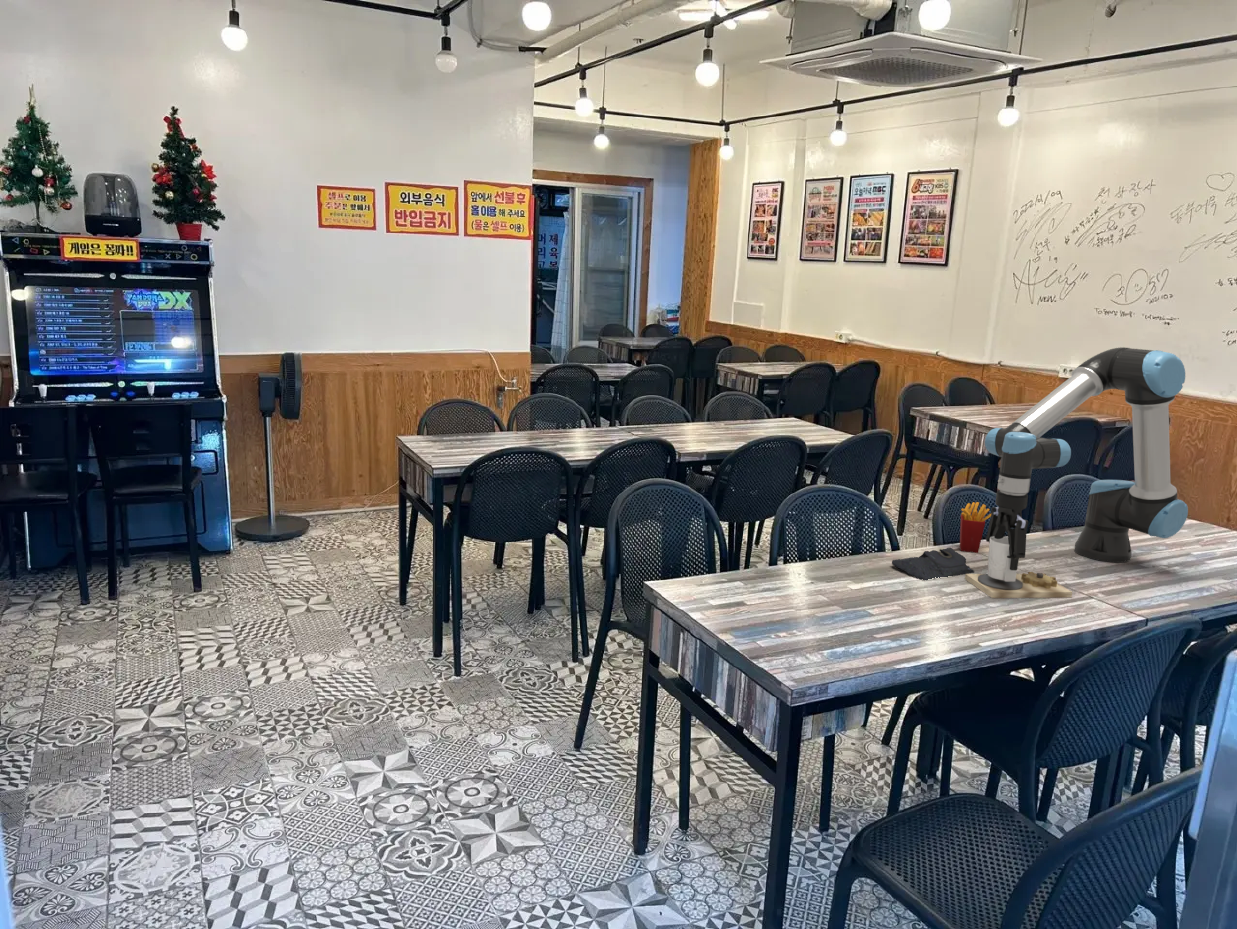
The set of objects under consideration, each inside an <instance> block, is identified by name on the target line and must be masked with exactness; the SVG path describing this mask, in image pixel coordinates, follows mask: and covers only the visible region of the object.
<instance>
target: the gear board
mask: <svg viewBox="0 0 1237 929" xmlns="http://www.w3.org/2000/svg"><path fill="white" fill-rule="evenodd" d="M965 579H966V580H965ZM964 580H965V581H967V582H968V583H969V584H971V585H973V586H974V588H977V589H978V590H980V591H981V592H983V593H984V594H985V595H987V596H988V597H990V599H991V598H992V599H1017V598H1018V599H1026V598H1027V599H1028V598H1029V599H1037V598H1039V599H1042V598H1045V599H1046V598H1047V599H1050V598H1052V599H1053V598H1055V599H1056V598H1057V599H1058V598H1059V599H1060V598H1069V599H1070V598H1072V596H1073V591H1072V590H1070V589H1068V588H1066V587H1065V586H1063V585H1062V584H1060V583H1058V580H1056V577H1055V576H1050V575H1047V574H1046V573H1045V572H1043V573H1042V572H1036V573H1035V572H1033V571H1028V572H1027V573H1025V572H1022V573H1016V580H1015V581H1004V580H999V579H995V578H992V577H990V576H988V573H970V574H964Z"/></svg>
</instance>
